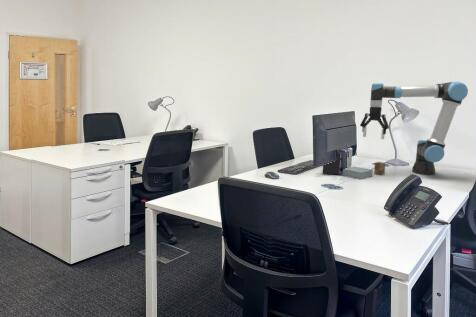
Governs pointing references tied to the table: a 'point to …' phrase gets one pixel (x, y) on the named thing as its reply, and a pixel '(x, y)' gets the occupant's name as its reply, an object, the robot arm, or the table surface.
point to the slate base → (357, 172)
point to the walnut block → (379, 168)
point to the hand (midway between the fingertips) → (373, 138)
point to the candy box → (349, 157)
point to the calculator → (333, 166)
